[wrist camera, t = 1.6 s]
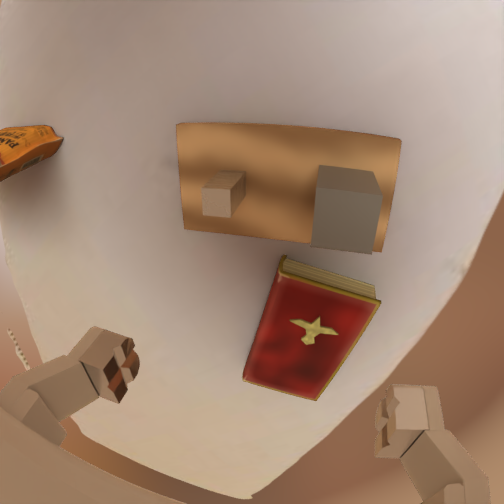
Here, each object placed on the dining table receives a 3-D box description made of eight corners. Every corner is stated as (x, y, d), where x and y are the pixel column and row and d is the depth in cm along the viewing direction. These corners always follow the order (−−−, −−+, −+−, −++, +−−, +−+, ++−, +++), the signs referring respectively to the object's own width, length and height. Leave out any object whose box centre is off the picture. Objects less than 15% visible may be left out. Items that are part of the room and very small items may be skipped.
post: (220, 169, 32) (201, 187, 27) (246, 171, 31) (230, 189, 27) (221, 193, 33) (202, 215, 28) (246, 195, 33) (230, 217, 28)
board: (181, 122, 31) (176, 124, 30) (399, 138, 27) (401, 140, 26) (188, 224, 37) (184, 229, 36) (380, 246, 33) (381, 252, 32)
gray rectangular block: (319, 164, 29) (316, 187, 24) (372, 171, 28) (382, 195, 23) (314, 214, 32) (310, 246, 26) (365, 220, 31) (371, 254, 25)
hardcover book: (246, 360, 48) (239, 381, 45) (282, 252, 37) (276, 272, 33) (318, 381, 48) (316, 402, 44) (378, 281, 36) (381, 304, 33)
